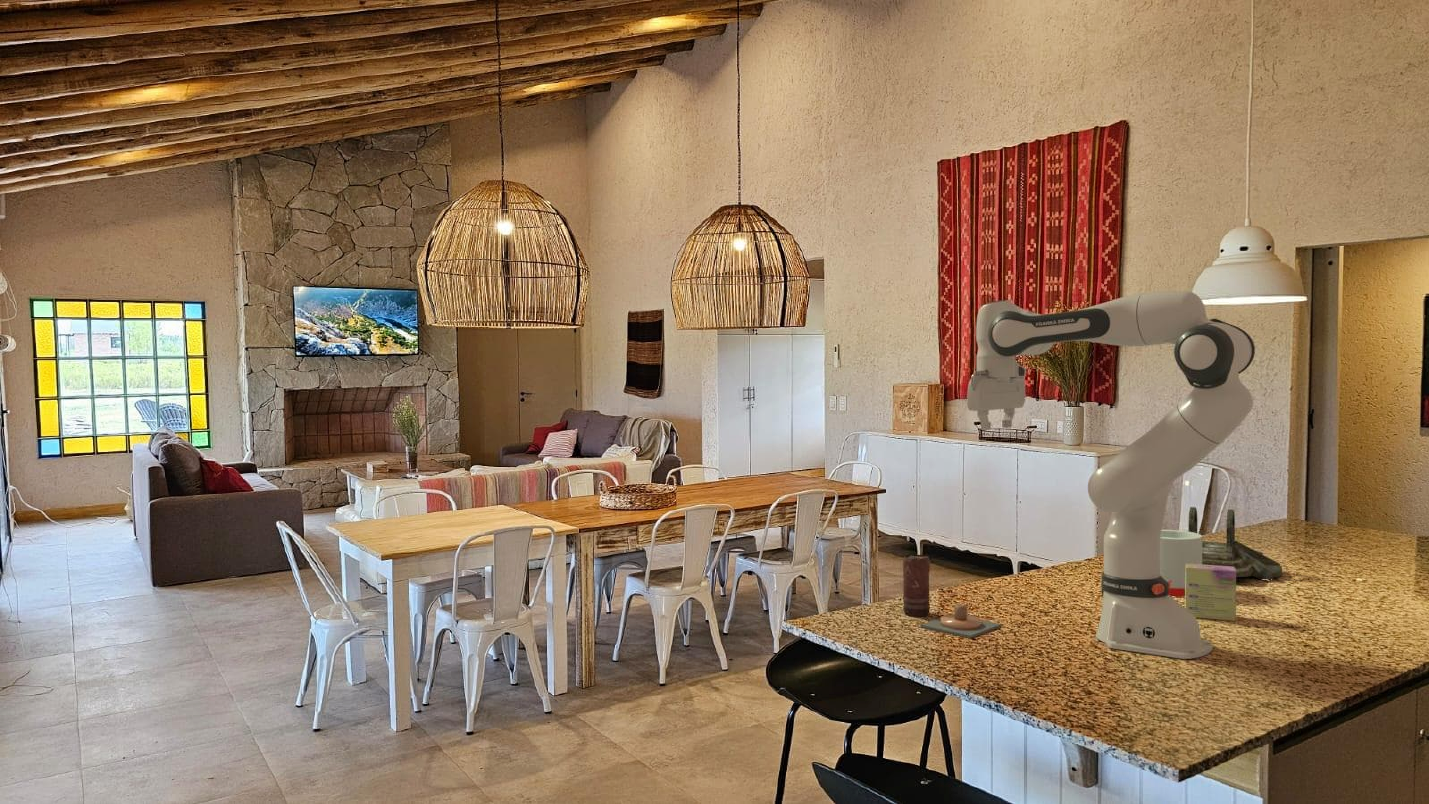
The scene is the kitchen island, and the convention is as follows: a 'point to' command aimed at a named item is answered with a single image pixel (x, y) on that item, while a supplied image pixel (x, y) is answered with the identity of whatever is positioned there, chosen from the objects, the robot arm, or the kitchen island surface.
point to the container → (1178, 557)
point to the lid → (960, 619)
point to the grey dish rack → (1235, 552)
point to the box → (1210, 591)
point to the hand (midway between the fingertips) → (996, 428)
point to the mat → (984, 628)
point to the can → (916, 585)
